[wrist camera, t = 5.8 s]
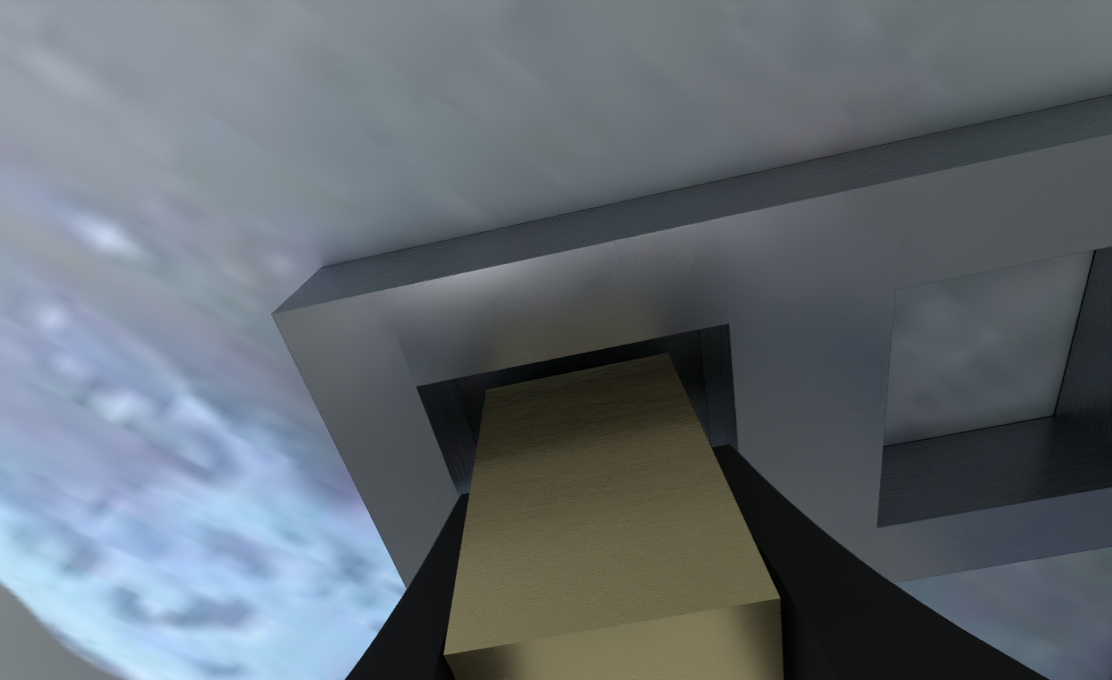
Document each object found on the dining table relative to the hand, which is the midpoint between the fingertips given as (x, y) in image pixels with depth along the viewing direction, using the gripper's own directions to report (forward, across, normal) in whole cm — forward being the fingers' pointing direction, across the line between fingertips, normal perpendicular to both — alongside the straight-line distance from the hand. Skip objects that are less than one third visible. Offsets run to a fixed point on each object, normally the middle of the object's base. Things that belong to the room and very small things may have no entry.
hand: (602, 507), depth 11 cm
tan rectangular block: (+2, 0, 0) cm, 2 cm away
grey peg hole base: (+3, -4, 0) cm, 6 cm away
